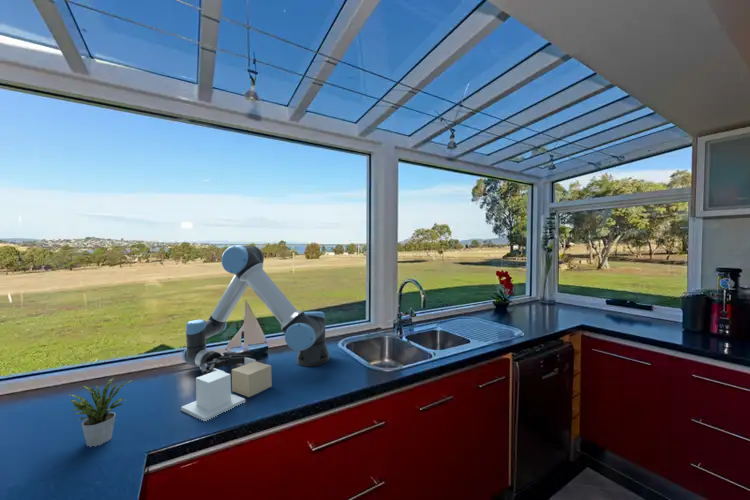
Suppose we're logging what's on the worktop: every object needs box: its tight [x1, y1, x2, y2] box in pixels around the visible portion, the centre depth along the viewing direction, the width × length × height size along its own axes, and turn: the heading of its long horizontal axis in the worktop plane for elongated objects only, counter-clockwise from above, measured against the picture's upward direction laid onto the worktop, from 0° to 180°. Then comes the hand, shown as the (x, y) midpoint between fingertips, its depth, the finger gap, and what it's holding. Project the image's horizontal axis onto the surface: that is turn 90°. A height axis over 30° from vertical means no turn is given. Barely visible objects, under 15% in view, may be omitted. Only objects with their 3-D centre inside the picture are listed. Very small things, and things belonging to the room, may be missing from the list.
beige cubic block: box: [231, 360, 273, 398], centre depth 117 cm, size 10×10×8 cm
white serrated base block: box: [180, 369, 246, 422], centre depth 104 cm, size 14×14×10 cm
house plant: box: [70, 377, 134, 448], centre depth 87 cm, size 14×14×16 cm
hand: (240, 369), depth 120 cm, fingers open, 13 cm apart
